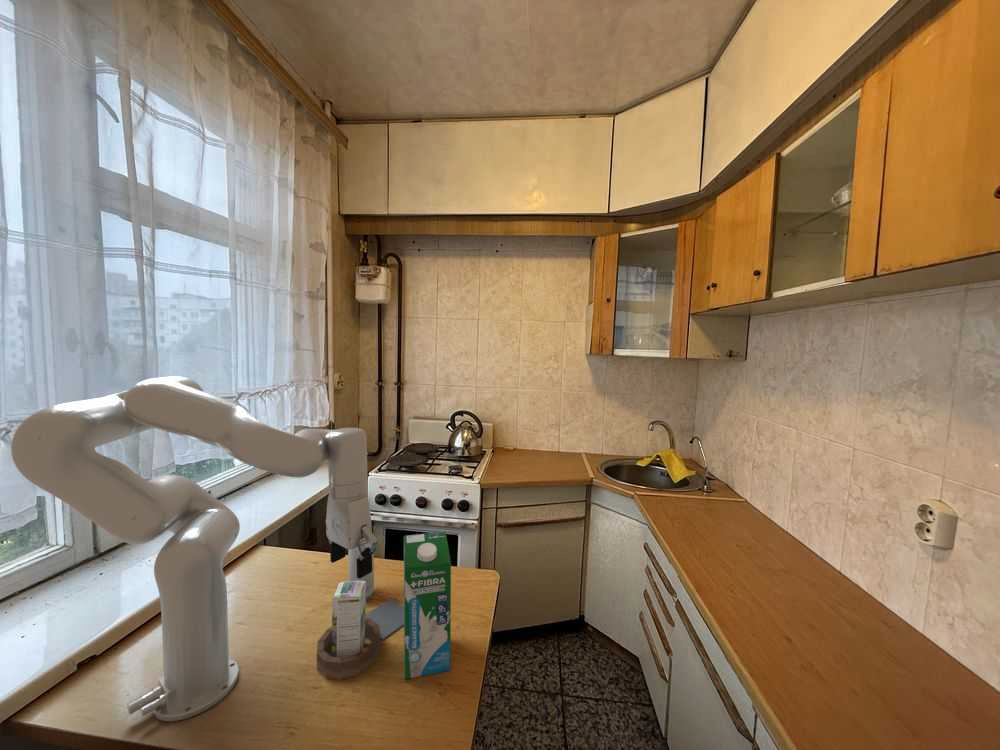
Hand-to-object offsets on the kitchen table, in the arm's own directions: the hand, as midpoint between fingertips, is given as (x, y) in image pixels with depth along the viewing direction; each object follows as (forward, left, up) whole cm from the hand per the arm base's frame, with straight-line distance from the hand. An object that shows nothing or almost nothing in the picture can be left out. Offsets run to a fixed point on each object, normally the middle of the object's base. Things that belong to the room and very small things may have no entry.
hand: (351, 567), depth 79 cm
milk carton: (+9, -14, -19) cm, 25 cm away
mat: (+11, +3, -19) cm, 22 cm away
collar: (0, 0, -19) cm, 19 cm away
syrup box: (0, 0, -19) cm, 19 cm away
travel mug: (+13, +15, -19) cm, 28 cm away
